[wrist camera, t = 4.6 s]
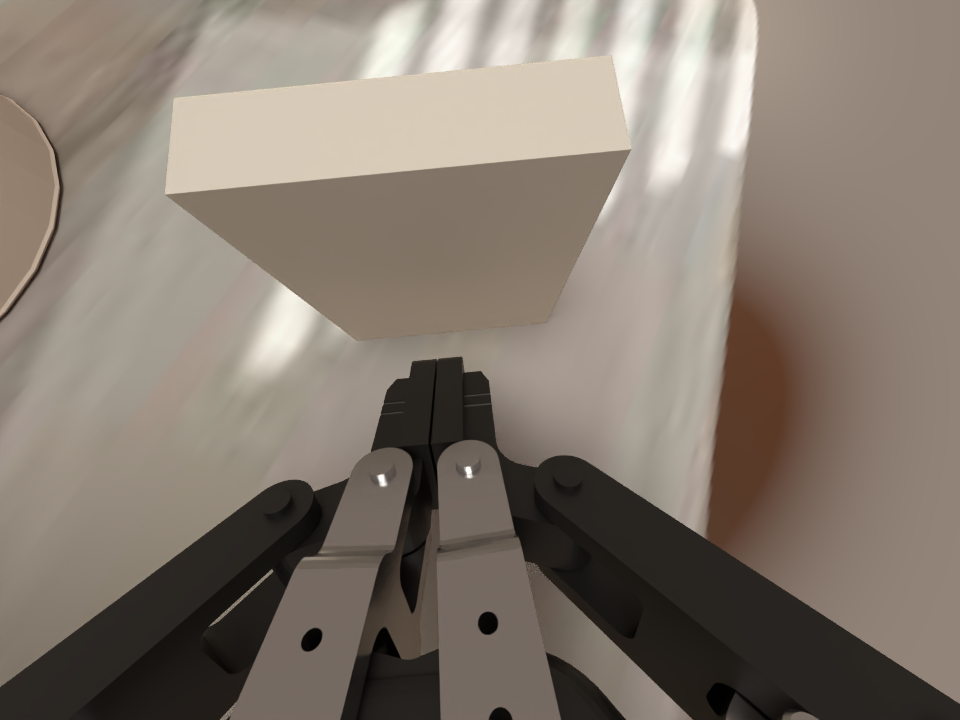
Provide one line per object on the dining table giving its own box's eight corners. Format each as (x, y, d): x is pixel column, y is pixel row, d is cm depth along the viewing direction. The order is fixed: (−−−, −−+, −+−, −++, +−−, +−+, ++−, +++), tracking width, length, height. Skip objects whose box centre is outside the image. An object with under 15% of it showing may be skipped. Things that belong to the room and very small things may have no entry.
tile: (546, 322, 20) (631, 149, 8) (357, 340, 20) (164, 194, 8) (540, 275, 20) (610, 47, 9) (356, 292, 20) (174, 90, 9)
